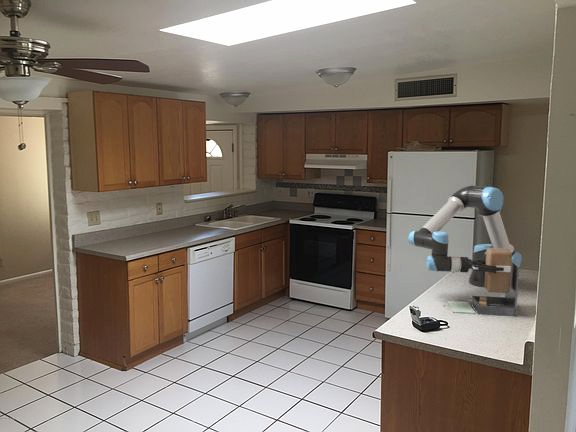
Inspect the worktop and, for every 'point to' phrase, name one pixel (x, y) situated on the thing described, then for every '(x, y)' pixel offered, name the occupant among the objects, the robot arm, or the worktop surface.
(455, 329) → the worktop surface
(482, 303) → the upper offcut
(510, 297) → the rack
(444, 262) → the robot arm
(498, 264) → the wooden block
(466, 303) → the mat
